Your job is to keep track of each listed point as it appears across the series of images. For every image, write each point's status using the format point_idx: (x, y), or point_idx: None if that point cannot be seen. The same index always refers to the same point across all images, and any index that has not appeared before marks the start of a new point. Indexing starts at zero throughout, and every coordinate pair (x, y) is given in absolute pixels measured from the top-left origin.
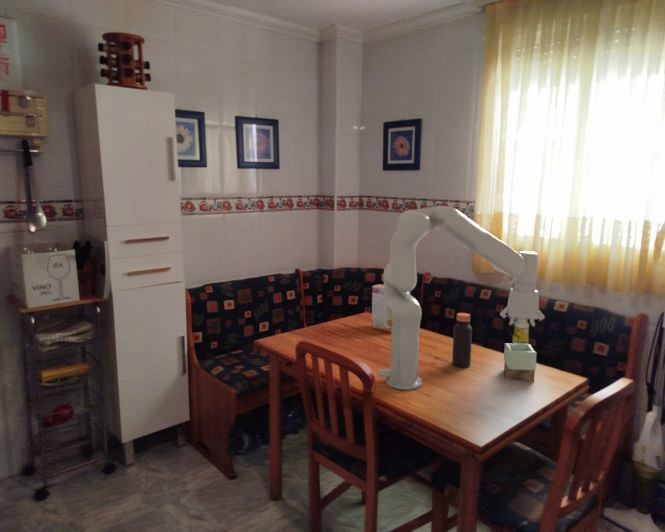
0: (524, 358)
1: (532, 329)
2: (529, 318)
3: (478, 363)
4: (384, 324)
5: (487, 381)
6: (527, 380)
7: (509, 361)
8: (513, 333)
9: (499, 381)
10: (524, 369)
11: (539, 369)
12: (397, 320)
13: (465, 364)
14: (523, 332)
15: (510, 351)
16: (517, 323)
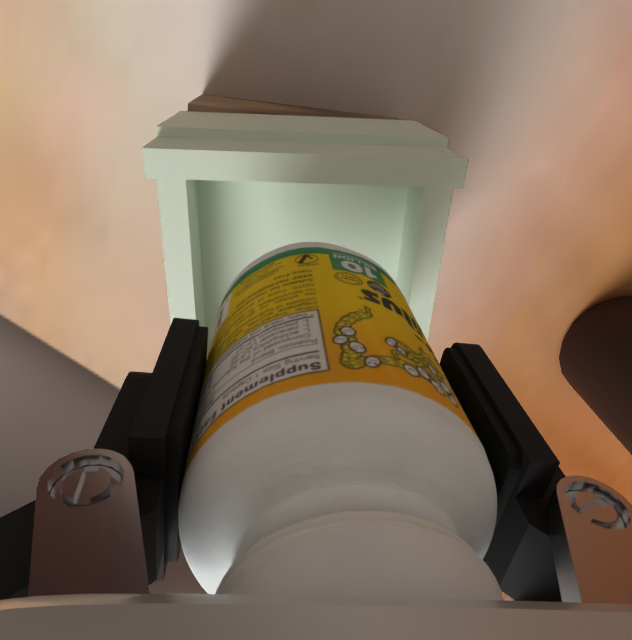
0: (289, 129)
1: (129, 423)
2: (182, 604)
3: None
4: None
5: (559, 63)
6: (250, 100)
7: (433, 130)
8: (457, 363)
9: (468, 72)
10: (278, 116)
11: (123, 326)
12: None
13: (622, 307)
14: (323, 325)
15: (460, 159)
16: (461, 505)
